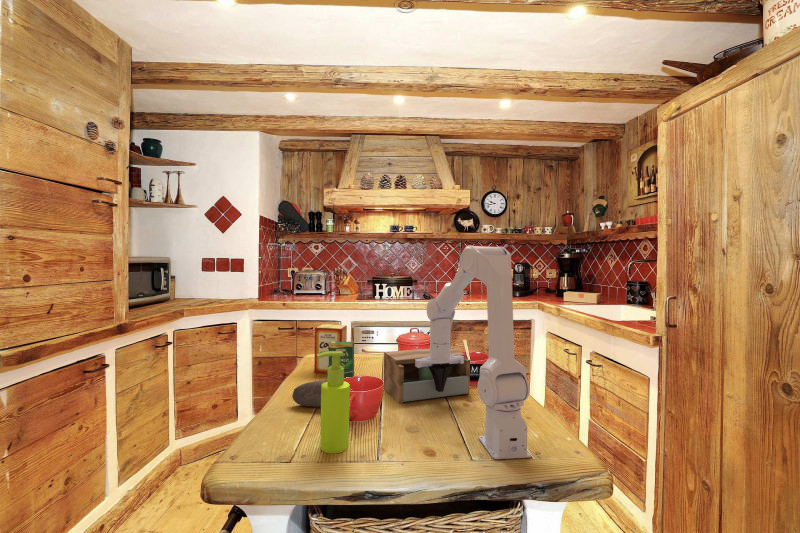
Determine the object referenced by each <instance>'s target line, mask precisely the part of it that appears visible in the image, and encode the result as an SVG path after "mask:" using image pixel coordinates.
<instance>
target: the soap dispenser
mask: <svg viewBox="0 0 800 533" xmlns="http://www.w3.org/2000/svg"><path fill="white" fill-rule="evenodd" d="M316 355H317V356H318V357H319V358H322V357H327V356H332V366H330V367H328V373H327V380H328V382H325V383H323V384H322V385H321V408H320V450H321V451H322V452H324V453H326V454H340V453H342V452H345V451H347V450H348V449H349V446H350V401H351V400H350V394H351V391H350V389H351V387H350V386H351V384H349V383H348V382H346V381H344V367H342V366H341V365H340V356H344V353H343V352H342V351H326V352H322V353H319V354H316Z"/></svg>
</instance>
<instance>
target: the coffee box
mask: <svg viewBox="0 0 800 533" xmlns="http://www.w3.org/2000/svg"><path fill="white" fill-rule="evenodd" d="M329 351H342V352H343V353H344V356H340V365H341V366H342V367H344V378H346V377H353V376H354V377H355V341H347V342H330V343H329ZM330 366H332V356H329V367H330Z"/></svg>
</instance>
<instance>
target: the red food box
mask: <svg viewBox="0 0 800 533" xmlns="http://www.w3.org/2000/svg"><path fill="white" fill-rule="evenodd" d="M347 329H348V328H347V325H346V324H345V325H342V324H333V323H330V324H329V323H328V324H325V323H324V324H320V325H317V326H316V327H314V365H313V366H314V369H313V371H314V372H313V373H315V374H328V367H329V356H327V357H322V358H319V357H318V356H317V355H316V354H319V353H322V352H326V351H329V343H330V342H348V341H347V338H348V336H347V335H348V334H347V333H348V330H347Z"/></svg>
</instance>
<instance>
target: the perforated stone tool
mask: <svg viewBox="0 0 800 533" xmlns="http://www.w3.org/2000/svg"><path fill="white" fill-rule="evenodd" d="M325 382H328V379H325V380H316V381H310V382H305V383H302V384H300V385H298V386H296V387H295V388H294V389H293V392H292V394H291V395H292V396H291V397H292V400H293V401H294V402H295V404H297V405H299V406H303V407H313V408H320V409H321V385H322V384H323V383H325Z"/></svg>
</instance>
